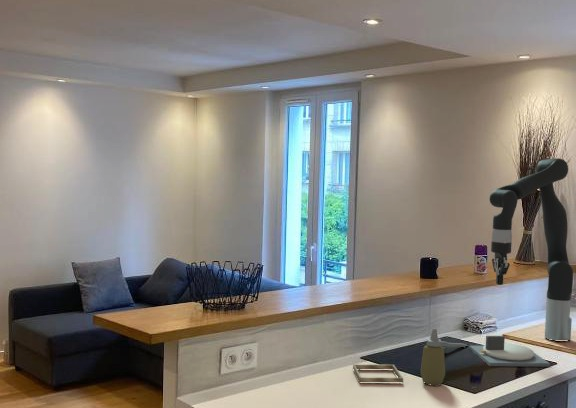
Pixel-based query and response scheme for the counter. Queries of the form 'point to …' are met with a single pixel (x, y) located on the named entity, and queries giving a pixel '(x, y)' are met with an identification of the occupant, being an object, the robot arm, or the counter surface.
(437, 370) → the squeeze bottle
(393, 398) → the counter surface
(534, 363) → the dial plate
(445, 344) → the caliper
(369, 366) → the bread board rim
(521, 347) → the dial
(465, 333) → the counter surface
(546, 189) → the robot arm
